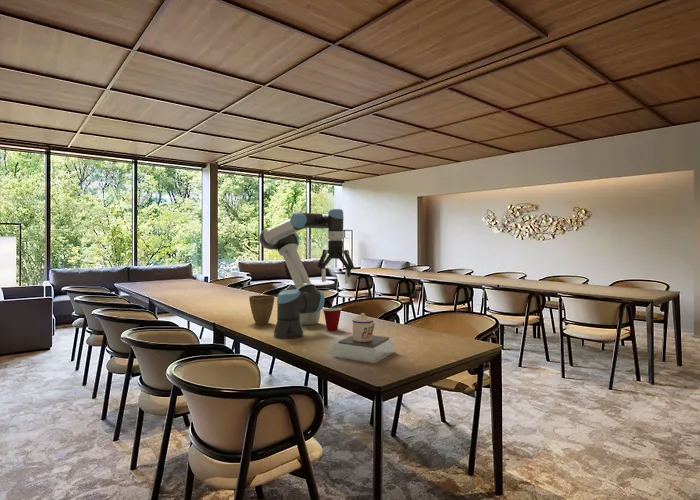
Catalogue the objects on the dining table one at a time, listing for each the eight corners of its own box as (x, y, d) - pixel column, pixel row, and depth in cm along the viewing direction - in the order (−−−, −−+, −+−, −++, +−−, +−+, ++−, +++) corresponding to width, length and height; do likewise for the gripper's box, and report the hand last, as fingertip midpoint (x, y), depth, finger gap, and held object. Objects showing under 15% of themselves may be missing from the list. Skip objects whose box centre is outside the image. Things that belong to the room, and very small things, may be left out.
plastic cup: (332, 326, 244) (332, 306, 244) (345, 329, 236) (345, 308, 236) (318, 329, 237) (318, 308, 236) (331, 332, 229) (331, 310, 229)
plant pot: (279, 323, 253) (279, 296, 252) (258, 326, 242) (258, 298, 242) (264, 319, 263) (265, 294, 263) (244, 323, 252) (244, 296, 252)
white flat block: (332, 356, 183) (333, 341, 183) (359, 344, 205) (359, 330, 205) (375, 363, 173) (375, 347, 173) (398, 349, 195) (398, 335, 195)
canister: (328, 322, 257) (328, 287, 257) (313, 327, 241) (313, 290, 240) (302, 319, 265) (302, 286, 264) (286, 325, 248) (286, 289, 248)
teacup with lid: (363, 343, 179) (363, 316, 179) (347, 339, 185) (348, 313, 185) (381, 338, 188) (381, 312, 187) (366, 335, 194) (366, 310, 194)
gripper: (310, 239, 215) (310, 281, 215) (354, 240, 203) (353, 284, 204) (318, 239, 222) (318, 280, 222) (361, 240, 210) (360, 283, 210)
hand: (335, 282), depth 213 cm, fingers open, 13 cm apart
